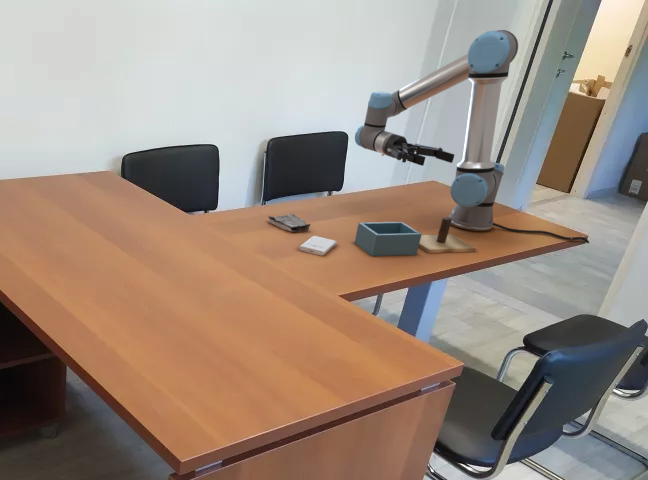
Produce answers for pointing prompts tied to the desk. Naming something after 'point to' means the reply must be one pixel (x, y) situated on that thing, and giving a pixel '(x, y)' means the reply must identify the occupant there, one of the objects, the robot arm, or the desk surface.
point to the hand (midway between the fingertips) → (438, 160)
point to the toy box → (387, 238)
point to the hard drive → (317, 245)
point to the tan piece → (444, 241)
